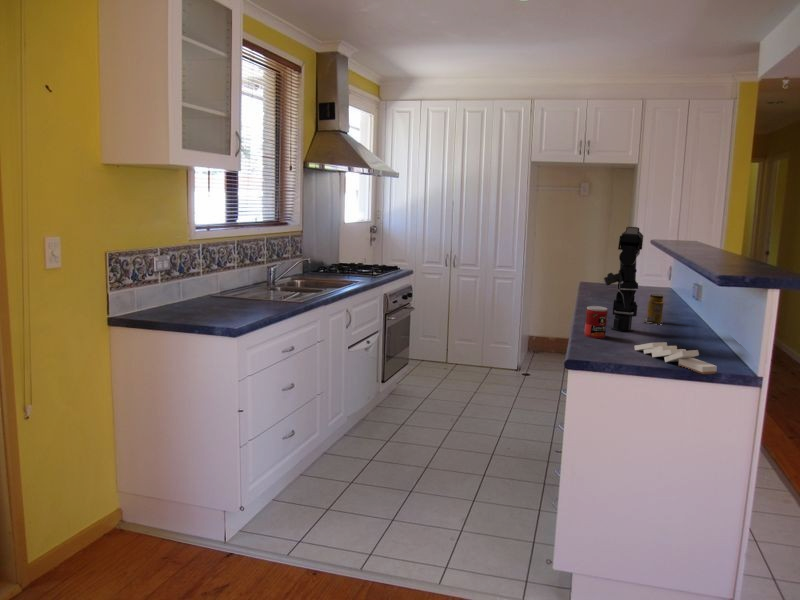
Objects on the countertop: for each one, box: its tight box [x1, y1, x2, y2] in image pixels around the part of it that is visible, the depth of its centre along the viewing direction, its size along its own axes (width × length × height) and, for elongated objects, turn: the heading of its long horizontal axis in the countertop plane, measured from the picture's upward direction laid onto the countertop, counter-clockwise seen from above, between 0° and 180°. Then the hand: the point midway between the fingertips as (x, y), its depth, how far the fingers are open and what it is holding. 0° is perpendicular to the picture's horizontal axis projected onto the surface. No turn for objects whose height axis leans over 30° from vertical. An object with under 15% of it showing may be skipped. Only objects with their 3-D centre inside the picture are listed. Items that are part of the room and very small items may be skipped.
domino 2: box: [643, 345, 678, 355], centre depth 222 cm, size 2×6×10 cm
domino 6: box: [677, 362, 718, 375], centre depth 208 cm, size 2×6×10 cm
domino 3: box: [651, 348, 687, 358], centre depth 217 cm, size 2×6×10 cm
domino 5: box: [678, 357, 718, 372], centre depth 207 cm, size 2×6×10 cm
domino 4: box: [663, 349, 700, 363], centre depth 211 cm, size 2×6×10 cm
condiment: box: [646, 294, 664, 326], centre depth 285 cm, size 7×8×12 cm
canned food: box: [584, 305, 609, 339], centre depth 251 cm, size 8×8×11 cm
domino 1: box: [634, 341, 668, 351], centre depth 227 cm, size 2×6×10 cm
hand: (626, 308), depth 246 cm, fingers closed
